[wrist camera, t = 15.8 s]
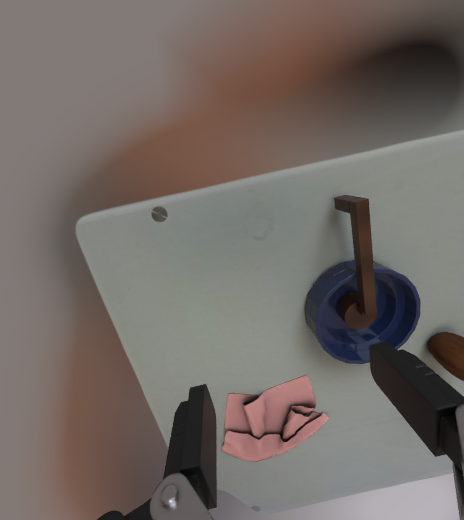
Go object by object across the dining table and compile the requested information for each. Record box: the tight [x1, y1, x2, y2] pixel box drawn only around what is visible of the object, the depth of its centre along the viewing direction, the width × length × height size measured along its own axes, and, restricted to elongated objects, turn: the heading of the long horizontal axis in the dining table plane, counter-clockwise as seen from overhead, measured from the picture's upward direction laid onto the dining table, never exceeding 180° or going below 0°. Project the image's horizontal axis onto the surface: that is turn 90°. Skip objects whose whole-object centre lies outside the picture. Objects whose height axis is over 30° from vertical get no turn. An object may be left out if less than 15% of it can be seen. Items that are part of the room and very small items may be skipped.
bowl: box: [305, 260, 420, 364], centre depth 38 cm, size 16×16×5 cm
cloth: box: [221, 375, 329, 461], centre depth 46 cm, size 20×22×2 cm
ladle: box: [334, 195, 378, 330], centre depth 35 cm, size 21×5×6 cm, turn 15°
